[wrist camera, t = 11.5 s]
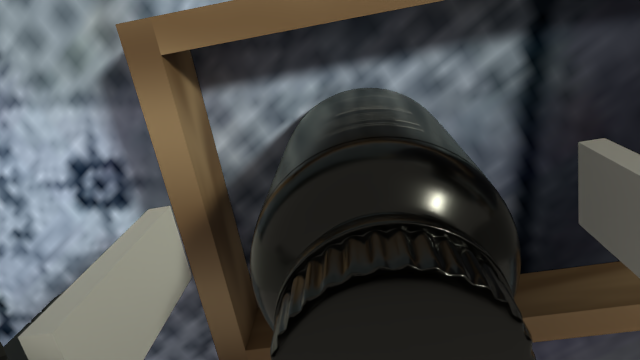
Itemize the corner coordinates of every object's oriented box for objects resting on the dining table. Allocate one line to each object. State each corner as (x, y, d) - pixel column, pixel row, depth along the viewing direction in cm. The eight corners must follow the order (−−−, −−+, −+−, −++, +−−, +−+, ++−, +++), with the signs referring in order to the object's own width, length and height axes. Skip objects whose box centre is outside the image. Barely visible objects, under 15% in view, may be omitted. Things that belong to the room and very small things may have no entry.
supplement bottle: (260, 202, 20) (153, 438, 9) (327, 55, 18) (298, 122, 7) (401, 265, 21) (466, 558, 10) (481, 130, 19) (691, 306, 7)
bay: (129, 27, 18) (53, 31, 13) (746, -98, 16) (918, -146, 11) (236, 382, 24) (209, 474, 19) (704, 331, 21) (806, 421, 16)
